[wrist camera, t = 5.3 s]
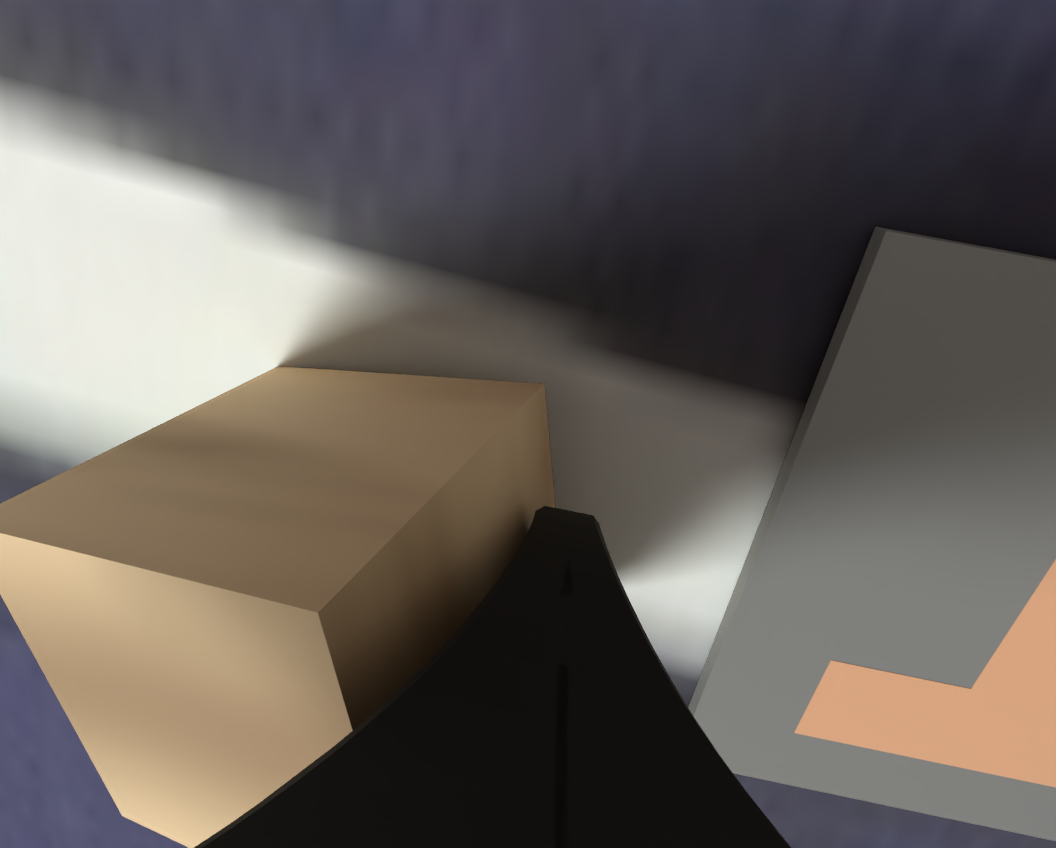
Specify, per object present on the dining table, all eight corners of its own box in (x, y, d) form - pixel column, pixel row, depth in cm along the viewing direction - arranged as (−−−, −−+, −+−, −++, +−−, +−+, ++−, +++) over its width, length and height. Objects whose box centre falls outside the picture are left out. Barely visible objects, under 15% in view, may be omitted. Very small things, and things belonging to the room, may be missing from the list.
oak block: (568, 646, 11) (419, 957, 7) (340, 593, 13) (121, 815, 9) (544, 383, 9) (317, 613, 5) (278, 366, 11) (-39, 523, 7)
